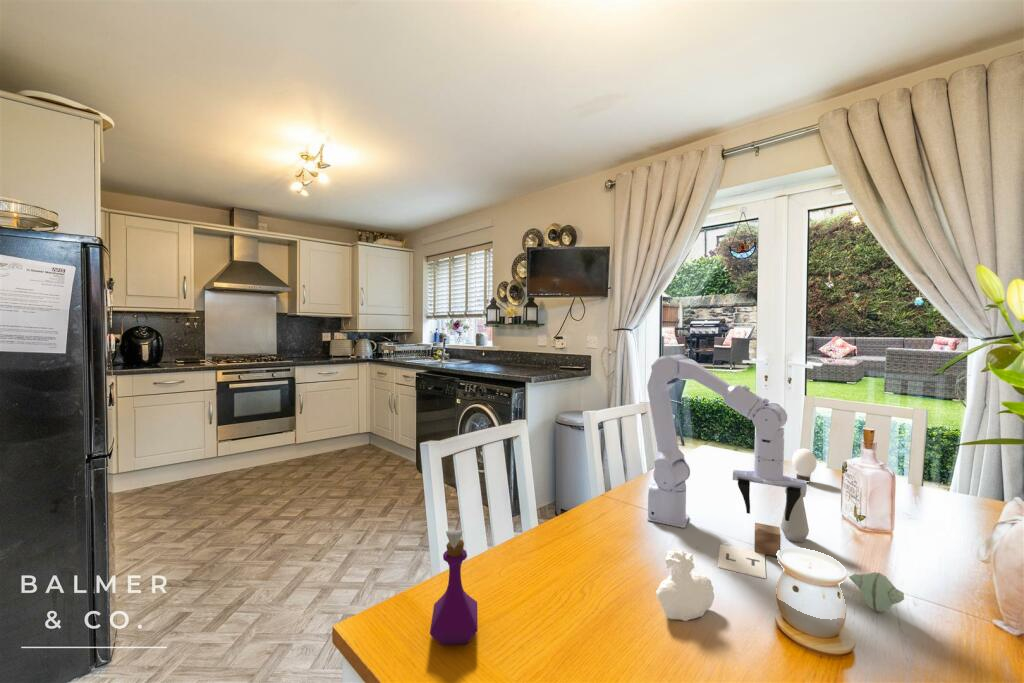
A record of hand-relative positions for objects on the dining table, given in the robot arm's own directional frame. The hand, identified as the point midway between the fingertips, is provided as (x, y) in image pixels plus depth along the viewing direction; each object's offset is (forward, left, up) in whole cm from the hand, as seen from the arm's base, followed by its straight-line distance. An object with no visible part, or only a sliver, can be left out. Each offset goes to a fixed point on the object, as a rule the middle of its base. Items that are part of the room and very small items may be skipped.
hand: (767, 515), depth 100 cm
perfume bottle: (-46, -58, -8) cm, 74 cm away
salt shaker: (+6, +10, -8) cm, 14 cm away
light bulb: (+12, +59, -8) cm, 61 cm away
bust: (-14, -32, -8) cm, 36 cm away
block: (0, 0, -8) cm, 8 cm away
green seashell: (+17, -15, -8) cm, 24 cm away
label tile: (-5, -8, -8) cm, 12 cm away
